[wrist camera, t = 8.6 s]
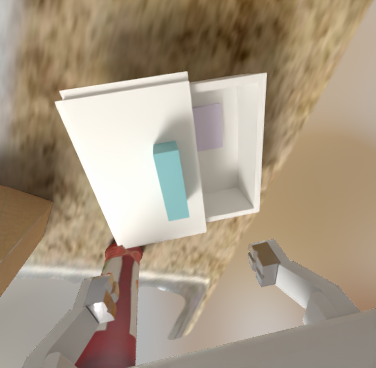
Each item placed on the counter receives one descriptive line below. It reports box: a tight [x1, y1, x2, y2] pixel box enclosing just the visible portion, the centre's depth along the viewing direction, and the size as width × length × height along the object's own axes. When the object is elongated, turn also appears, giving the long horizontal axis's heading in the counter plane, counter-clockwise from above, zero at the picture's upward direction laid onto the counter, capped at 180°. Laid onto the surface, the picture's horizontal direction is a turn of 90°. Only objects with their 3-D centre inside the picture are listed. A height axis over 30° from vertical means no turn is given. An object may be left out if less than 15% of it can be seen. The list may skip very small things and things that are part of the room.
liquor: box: [75, 243, 143, 368], centre depth 26 cm, size 7×7×28 cm
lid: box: [55, 71, 206, 249], centre depth 22 cm, size 20×13×6 cm, turn 8°
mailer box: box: [189, 73, 267, 222], centre depth 27 cm, size 18×11×7 cm, turn 8°
